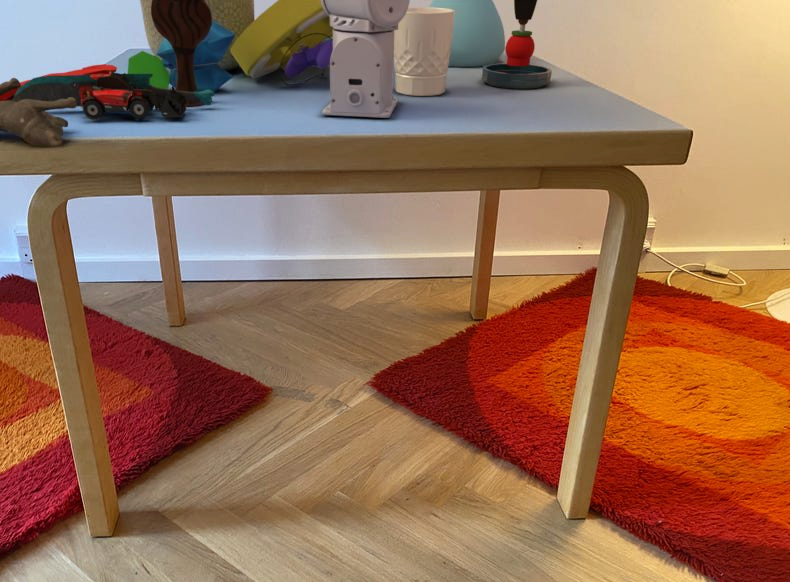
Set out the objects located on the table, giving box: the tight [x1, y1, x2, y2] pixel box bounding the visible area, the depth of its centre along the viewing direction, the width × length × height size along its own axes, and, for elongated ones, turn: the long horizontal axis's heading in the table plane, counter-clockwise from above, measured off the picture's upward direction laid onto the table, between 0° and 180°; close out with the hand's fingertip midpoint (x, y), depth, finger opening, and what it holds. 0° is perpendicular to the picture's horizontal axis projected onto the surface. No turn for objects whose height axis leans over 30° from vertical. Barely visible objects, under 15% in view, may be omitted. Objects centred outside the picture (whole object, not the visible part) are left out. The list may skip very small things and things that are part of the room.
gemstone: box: [127, 50, 170, 89], centre depth 92 cm, size 6×6×6 cm
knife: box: [12, 74, 215, 107], centre depth 83 cm, size 24×1×5 cm, turn 97°
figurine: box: [151, 0, 212, 108], centre depth 84 cm, size 7×5×18 cm
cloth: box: [0, 63, 118, 102], centre depth 92 cm, size 26×14×2 cm, turn 175°
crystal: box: [156, 20, 236, 92], centre depth 93 cm, size 7×9×12 cm
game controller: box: [279, 33, 333, 87], centre depth 97 cm, size 10×8×10 cm
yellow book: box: [231, 0, 334, 79], centre depth 100 cm, size 16×21×5 cm
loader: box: [73, 72, 187, 121], centre depth 80 cm, size 12×5×5 cm, turn 94°
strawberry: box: [504, 20, 536, 66], centre depth 97 cm, size 4×4×11 cm
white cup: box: [393, 6, 455, 97], centre depth 93 cm, size 8×8×10 cm
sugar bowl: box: [428, 0, 506, 68], centre depth 115 cm, size 15×15×12 cm
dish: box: [481, 62, 553, 90], centre depth 101 cm, size 10×10×2 cm
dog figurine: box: [0, 77, 78, 148], centre depth 72 cm, size 12×6×7 cm
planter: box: [139, 0, 256, 72], centre depth 105 cm, size 17×17×15 cm
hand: (523, 18), depth 97 cm, fingers closed on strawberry
